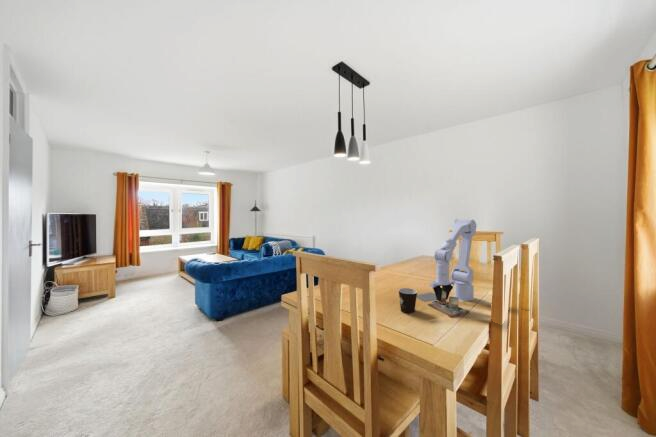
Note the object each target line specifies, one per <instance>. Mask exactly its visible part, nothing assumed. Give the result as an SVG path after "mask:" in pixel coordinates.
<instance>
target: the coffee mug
mask: <svg viewBox="0 0 656 437" xmlns="http://www.w3.org/2000/svg"><path fill="white" fill-rule="evenodd" d="M417 295H418V291H417V290H416V289H414V288H409V287H401V288H399V289H398V297H399V308H400V312H401V313H403V314H408V315H410V314H413V313H415V310H416V302H417V298H416V297H417Z"/></svg>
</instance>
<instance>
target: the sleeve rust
mask: <svg viewBox="0 0 656 437" xmlns="http://www.w3.org/2000/svg"><path fill="white" fill-rule="evenodd" d="M446 301H447V300H446V292H445V291H442V296H441V301H439V300H437V303H438V304H440V305H446Z"/></svg>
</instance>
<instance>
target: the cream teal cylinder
mask: <svg viewBox="0 0 656 437" xmlns="http://www.w3.org/2000/svg"><path fill="white" fill-rule="evenodd" d="M452 296H453V295H450V296H449V297H448V302H449V309H451V310H453V311H457V310H458V307H459V300H458V298H457V297H452Z"/></svg>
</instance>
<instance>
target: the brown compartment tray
mask: <svg viewBox="0 0 656 437" xmlns="http://www.w3.org/2000/svg"><path fill="white" fill-rule="evenodd" d="M427 306H428V307H430V308H433V309H434V310H437V311H438V312H441V313H442V314H444V315H447V317H449V318H453V317H457V316H463V315H467V314H470V310H467V309H465V308H462V307H461V306H458V310H457V311H453V310H451V309H449V301H447V300H446V305H440V304H438V303H437V300H433V301H431V303H427Z"/></svg>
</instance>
